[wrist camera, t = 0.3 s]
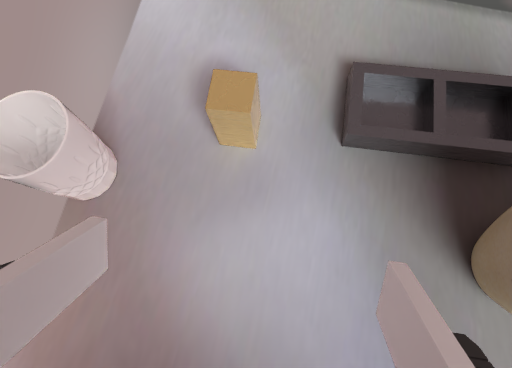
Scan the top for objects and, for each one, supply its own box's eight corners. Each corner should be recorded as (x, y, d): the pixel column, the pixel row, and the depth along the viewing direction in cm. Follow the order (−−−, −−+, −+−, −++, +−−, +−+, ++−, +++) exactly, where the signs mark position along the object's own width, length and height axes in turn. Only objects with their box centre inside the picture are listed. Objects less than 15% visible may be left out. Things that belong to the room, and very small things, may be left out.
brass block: (255, 148, 36) (250, 113, 28) (219, 144, 36) (205, 108, 28) (260, 116, 37) (257, 73, 29) (226, 112, 37) (213, 69, 29)
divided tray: (514, 166, 33) (537, 155, 31) (341, 145, 35) (347, 134, 32) (510, 94, 36) (530, 78, 33) (347, 78, 37) (353, 61, 34)
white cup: (57, 214, 35) (-26, 190, 25) (50, 149, 37) (-29, 104, 27) (128, 194, 35) (73, 162, 25) (117, 130, 37) (62, 79, 28)
